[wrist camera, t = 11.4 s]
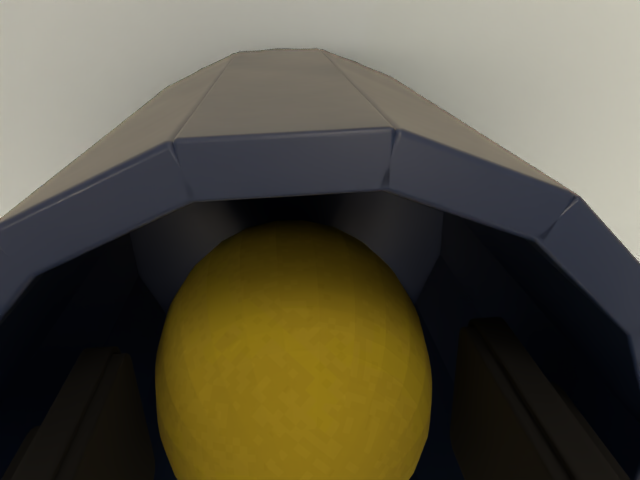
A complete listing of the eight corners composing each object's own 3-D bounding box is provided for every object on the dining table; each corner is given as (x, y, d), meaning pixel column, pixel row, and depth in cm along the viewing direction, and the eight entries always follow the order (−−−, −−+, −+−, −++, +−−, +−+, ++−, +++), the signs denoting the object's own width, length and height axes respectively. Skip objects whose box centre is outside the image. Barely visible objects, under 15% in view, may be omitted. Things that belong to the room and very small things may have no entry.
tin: (73, 57, 14) (-322, 164, 5) (473, 39, 15) (817, 104, 5) (146, 380, 19) (20, 751, 10) (446, 355, 20) (604, 681, 10)
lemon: (418, 224, 14) (574, 451, 7) (328, 371, 16) (379, 671, 9) (233, 139, 13) (191, 318, 6) (157, 313, 15) (51, 614, 7)
